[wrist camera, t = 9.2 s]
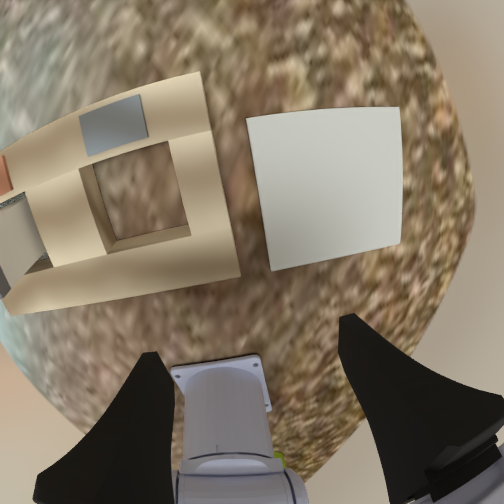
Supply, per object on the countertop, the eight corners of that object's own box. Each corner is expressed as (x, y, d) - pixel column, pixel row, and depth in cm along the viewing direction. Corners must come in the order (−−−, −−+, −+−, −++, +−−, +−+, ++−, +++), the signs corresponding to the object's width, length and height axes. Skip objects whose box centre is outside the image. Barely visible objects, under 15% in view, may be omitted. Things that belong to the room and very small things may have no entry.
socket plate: (238, 260, 20) (241, 279, 17) (20, 302, 19) (9, 317, 17) (202, 76, 14) (199, 70, 12) (-30, 176, 14) (-48, 184, 11)
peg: (53, 243, 17) (3, 298, 11) (19, 253, 17) (-29, 304, 11) (35, 192, 15) (-27, 233, 9) (2, 207, 15) (-55, 247, 9)
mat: (396, 240, 20) (400, 243, 20) (270, 267, 20) (271, 271, 20) (395, 106, 16) (399, 107, 15) (245, 118, 15) (246, 118, 15)
